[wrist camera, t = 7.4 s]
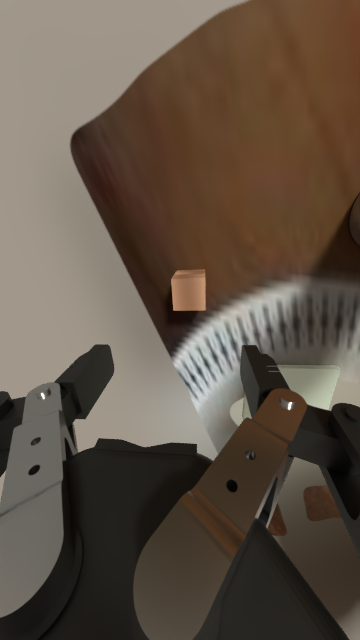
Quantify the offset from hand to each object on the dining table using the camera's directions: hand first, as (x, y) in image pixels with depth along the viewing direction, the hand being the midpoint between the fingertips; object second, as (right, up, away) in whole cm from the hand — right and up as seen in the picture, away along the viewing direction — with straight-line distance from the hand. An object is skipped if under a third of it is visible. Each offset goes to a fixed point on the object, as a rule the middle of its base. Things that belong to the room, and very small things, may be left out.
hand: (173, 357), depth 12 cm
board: (+19, -11, +24) cm, 32 cm away
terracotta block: (+2, +8, +18) cm, 20 cm away
